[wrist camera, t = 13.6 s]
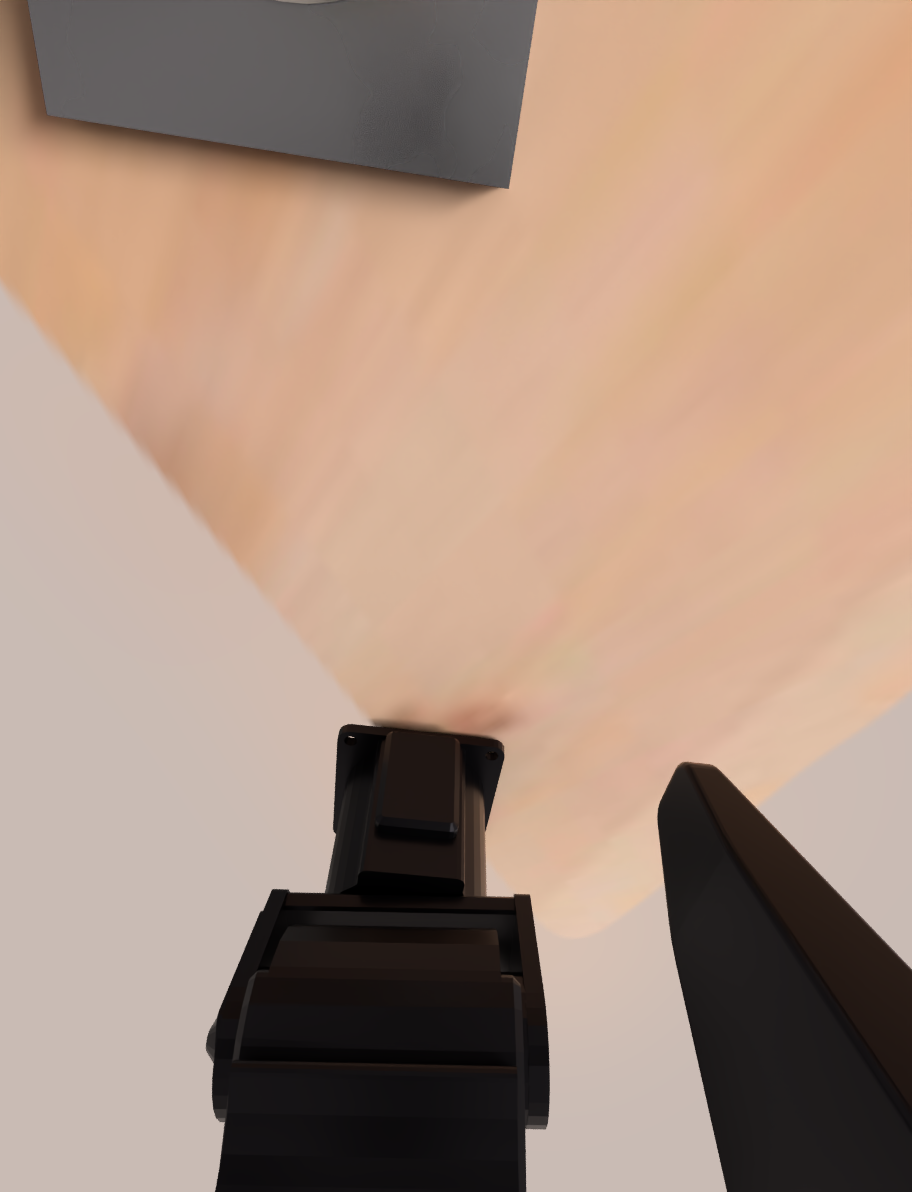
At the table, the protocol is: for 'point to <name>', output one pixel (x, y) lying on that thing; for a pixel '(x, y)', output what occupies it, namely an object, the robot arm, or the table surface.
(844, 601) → the table surface
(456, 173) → the stand
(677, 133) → the table surface
